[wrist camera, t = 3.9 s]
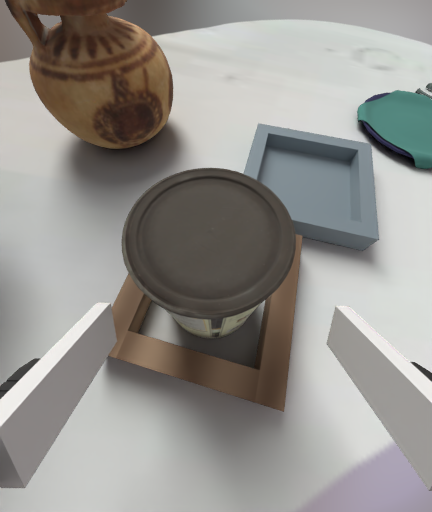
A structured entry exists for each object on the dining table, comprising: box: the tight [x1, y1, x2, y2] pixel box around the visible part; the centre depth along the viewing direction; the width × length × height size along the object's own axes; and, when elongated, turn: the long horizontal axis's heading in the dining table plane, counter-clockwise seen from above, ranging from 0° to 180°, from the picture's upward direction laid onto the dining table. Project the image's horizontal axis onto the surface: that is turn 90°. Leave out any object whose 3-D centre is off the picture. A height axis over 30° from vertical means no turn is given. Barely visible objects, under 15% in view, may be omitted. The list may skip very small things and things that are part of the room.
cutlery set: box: [357, 83, 432, 169], centre depth 40 cm, size 20×30×2 cm, turn 120°
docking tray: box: [244, 123, 379, 251], centre depth 31 cm, size 18×18×3 cm
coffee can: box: [122, 168, 296, 338], centre depth 19 cm, size 10×10×14 cm
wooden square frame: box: [108, 234, 302, 412], centre depth 24 cm, size 18×18×3 cm
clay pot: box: [5, 0, 173, 149], centre depth 30 cm, size 19×19×20 cm
